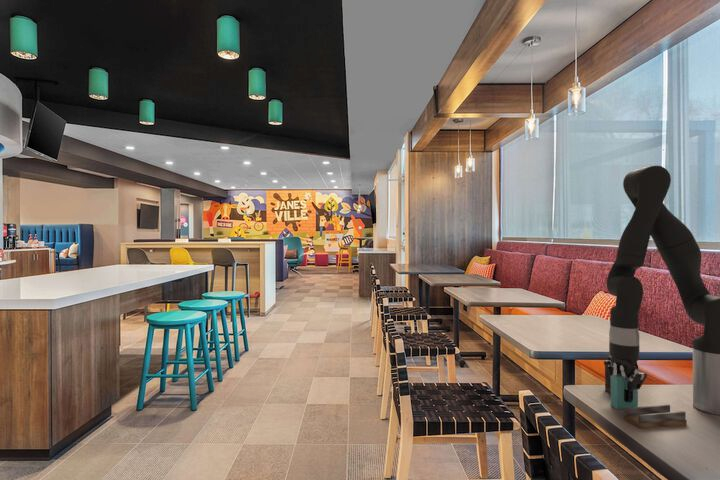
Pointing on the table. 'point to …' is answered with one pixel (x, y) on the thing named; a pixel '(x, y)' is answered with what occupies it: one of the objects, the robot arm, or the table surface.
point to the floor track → (654, 416)
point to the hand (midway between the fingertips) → (624, 399)
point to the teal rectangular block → (621, 394)
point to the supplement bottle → (607, 378)
